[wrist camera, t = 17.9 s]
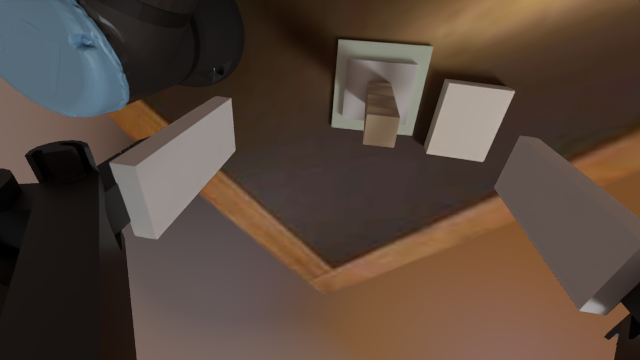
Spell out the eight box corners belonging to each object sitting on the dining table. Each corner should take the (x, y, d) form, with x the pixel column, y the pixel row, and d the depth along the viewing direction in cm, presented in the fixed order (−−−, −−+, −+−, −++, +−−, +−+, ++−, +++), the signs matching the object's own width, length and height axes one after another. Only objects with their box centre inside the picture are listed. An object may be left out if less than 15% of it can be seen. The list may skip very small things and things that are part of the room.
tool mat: (332, 125, 44) (331, 126, 43) (338, 39, 38) (338, 39, 37) (411, 134, 43) (411, 135, 42) (432, 46, 36) (433, 46, 36)
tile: (477, 153, 43) (423, 145, 44) (506, 85, 38) (444, 78, 38) (483, 161, 41) (426, 153, 41) (515, 91, 35) (449, 83, 36)
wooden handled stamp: (342, 116, 42) (330, 163, 30) (348, 57, 38) (337, 83, 25) (404, 122, 41) (419, 173, 29) (417, 63, 37) (441, 93, 24)
